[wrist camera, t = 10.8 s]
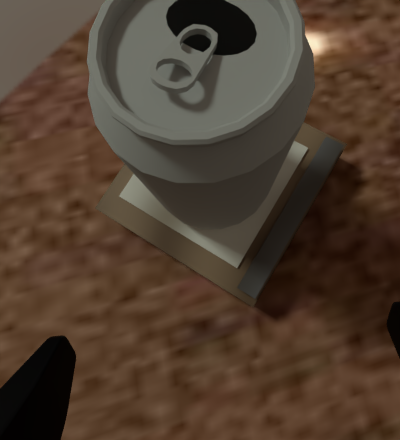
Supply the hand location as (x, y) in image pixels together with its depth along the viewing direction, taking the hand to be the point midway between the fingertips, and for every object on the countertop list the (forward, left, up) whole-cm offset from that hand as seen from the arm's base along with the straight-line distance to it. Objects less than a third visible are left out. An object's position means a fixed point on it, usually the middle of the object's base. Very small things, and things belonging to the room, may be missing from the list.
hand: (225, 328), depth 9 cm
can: (+5, -6, -11) cm, 13 cm away
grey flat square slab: (+4, -7, -13) cm, 15 cm away
